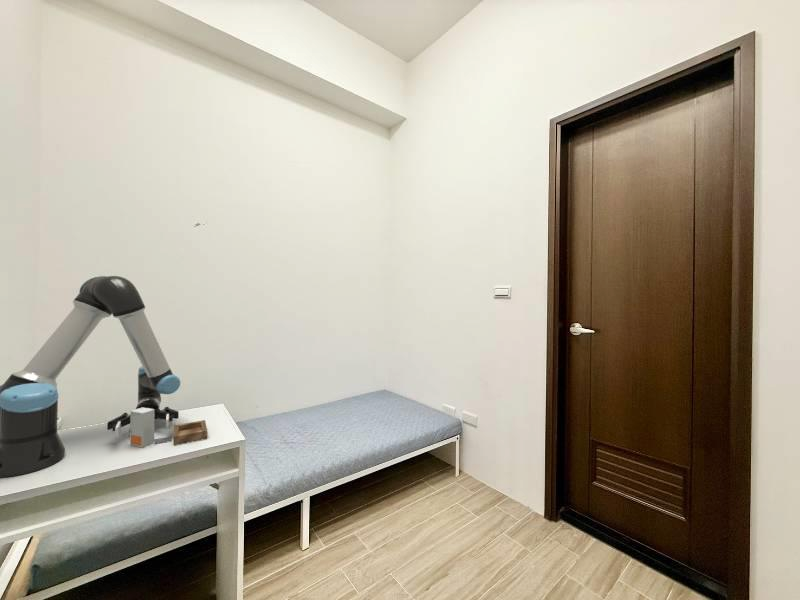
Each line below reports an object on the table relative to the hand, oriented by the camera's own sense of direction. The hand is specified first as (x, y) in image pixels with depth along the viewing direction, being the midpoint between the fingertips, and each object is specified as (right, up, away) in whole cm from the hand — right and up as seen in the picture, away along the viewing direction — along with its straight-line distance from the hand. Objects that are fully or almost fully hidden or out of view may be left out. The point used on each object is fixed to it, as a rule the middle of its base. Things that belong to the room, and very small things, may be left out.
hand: (142, 427), depth 110 cm
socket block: (+11, -7, +9) cm, 15 cm away
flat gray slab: (+4, -7, +5) cm, 9 cm away
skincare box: (-2, -7, +2) cm, 7 cm away
